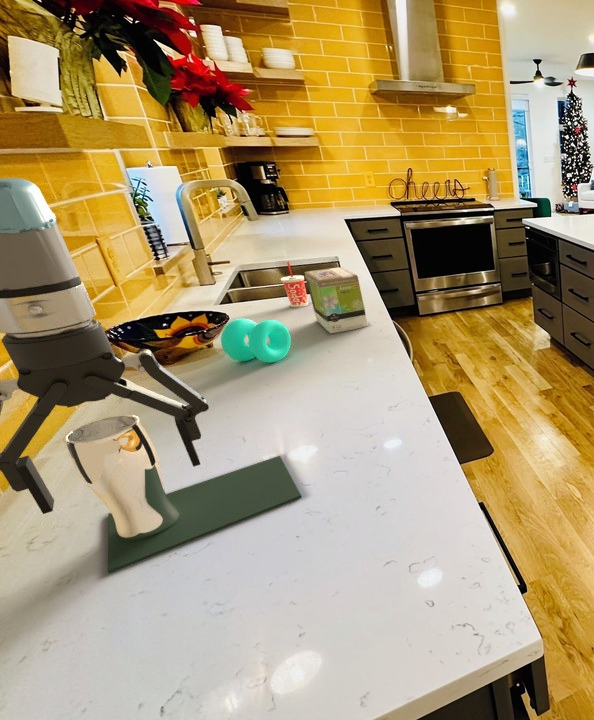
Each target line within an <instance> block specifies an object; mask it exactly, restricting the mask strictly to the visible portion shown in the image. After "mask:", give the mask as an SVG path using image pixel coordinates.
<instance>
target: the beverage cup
mask: <svg viewBox="0 0 594 720" xmlns="http://www.w3.org/2000/svg"><path fill="white" fill-rule="evenodd" d="M286 264H287V267H288V271H289V274H290V275H288V276H284V277H281V278H280V282H281V283H282V284H283V287H284V290H285V292H286V296H287V298H288V301H289V303H290V306H291V308H302V307H306V306H308V305H309V299H308V296H307V295H308V293H307V290H306V285H305V275H300V274H298V275H297V274H296V275H293V272H292V268H291V265H290V262H289V261H286Z"/></svg>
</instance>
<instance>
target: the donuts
mask: <svg viewBox="0 0 594 720" xmlns="http://www.w3.org/2000/svg"><path fill="white" fill-rule="evenodd" d="M246 336H247V338H248V339H247V340H248V341H247V344H246V341H245V340H246V339H245V338H246ZM268 339H269V343H268V342H267V340H268ZM220 343H221V348H222V350H223V352H224V353H225V354H226V355H227V356H228V357H229V358H230V359H232V360H235V361H238V362H249V361H252V360H254V359H255V358H256V359H258V360H259V361H260V362H261V361H262V362H264V363H271V364H273V363H277V362H279V361H282V360H283V359H284V358H285V357H286V355H288V353H289V351H290V348H291V344H292V337H291V333H290V331H289V329H288V328H287V326H286V325H285V324H284V323H282V322H281V321H278V320H276V319H265V320H261V321H259V322H258V323H257V322H256V321H253V320H252V319H248V318H237V319H233V320H231V321H229V323H227V325H226V326H225V327H224V328H223V330H222V332H221V337H220ZM267 343H268V344H267Z"/></svg>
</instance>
